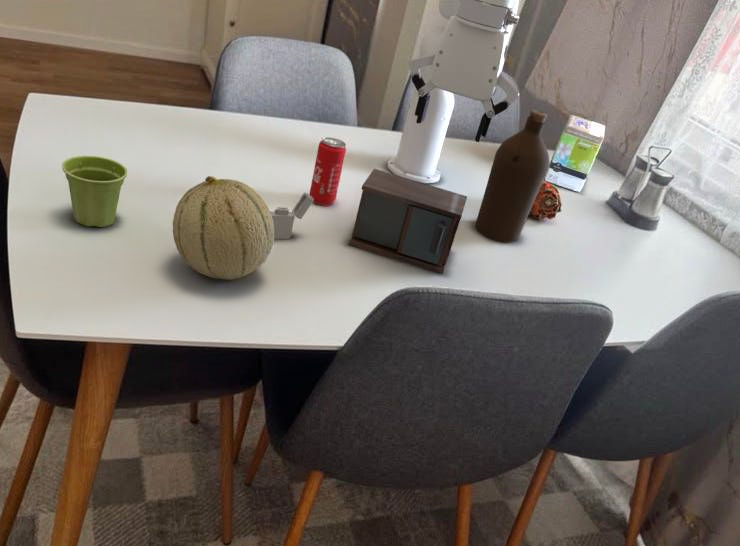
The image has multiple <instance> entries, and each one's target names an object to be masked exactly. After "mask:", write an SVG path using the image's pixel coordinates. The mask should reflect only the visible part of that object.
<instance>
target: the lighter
mask: <svg viewBox="0 0 740 546" xmlns="http://www.w3.org/2000/svg"><path fill="white" fill-rule="evenodd" d="M313 201H314V199H313V198H312V196H310V193H309V194H308V193H307V192H304V193H303V194H302V196H301V197H300V199H299V200H298V202H297V203H296V204H295V206H294V207H293V209H292V210H291V211H290V209H289V208H288V207H286V206H283V207H279V206H278V207H277V208H275V210H274V211H273V210H272V211H271V210H269V211H270V213H271V216H272V218H273V222H274V227H275V232H274V240H290V239H291V238H292V234H293V228H294V227H293V226H294V222H295V217H296V218H297V219H299V220H302V219H303V217H304V216H305V214H306V213H307V212H308V210H309V209H310V207H311V205H312V204H313Z"/></svg>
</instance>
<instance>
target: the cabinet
mask: <svg viewBox="0 0 740 546" xmlns="http://www.w3.org/2000/svg"><path fill="white" fill-rule="evenodd" d="M361 190H362V192H361V196H360V200H359V204H358V209H357V212H356V217H355V222H354V226H353V229H352V235H351V237H350V239H349V241H348V246H351V247H354V248H357V249H361V250H363V251H367V252H370V253H373V254H377V255H380V256H383V257H387V258H388V259H389V258H390V259H393V260H396V261H399V262H402V263H406V264H408V265H412V266H414V267H418V268H422V269H425V270H428V271H431V272H435V273H438V274H441V275H444V272H445V270H446V265H447V263H448V259H449V257H450V253H451V251H452V247H453V244H454V241H455V238H456V235H457V231H458V229H459V226H460V223H461V219H462V216H463V213H464V210H465V207H466V203H467V200H468V196H467V195H464V194H461V193H457V192H454V191H450V190H447V189H445V188H441V187H437V186H434V185H431V184H429V183H421V182H418V181H415V180H411V179H408V178H405V177H401V176H398V175H396V174H394V173H392V172H388V171H384V170H382V169H379V168H373V170H372V171H371V172H370V174H369V175H368V176H367V178H366V179H365V181H364V182H363V184H362V186H361ZM410 205H414V206H417V207H420V208H423V209H426V210H430V211H433V212H436V213H440V214H443V215H446V216H449V217H453V218H456V222H455V225H454V228H453V231H452V234H451V237H450V241H449V244H448V247H447V250H446V253H445V256H444V259H443V262H442V266H440V265H437V264H434V263H431V262H427V261H424V260H421V259H418V258H414V257H411V256H408V255H405V254H401V253H398V252H397V250H398V247H399V243H400V240H401V236H402V232H403V229H404V225H405V222H406V218H407V214H408V211H409V207H410Z"/></svg>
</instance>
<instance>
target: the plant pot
mask: <svg viewBox="0 0 740 546" xmlns="http://www.w3.org/2000/svg"><path fill="white" fill-rule="evenodd" d="M61 170H62V171H63V173H64V174H65V178H66V180H67V182H68V188H69V195H70V202H71V208H72V215H73V219H74V220H75V221H76V223H79V224H80V225H82V226H85V227H97V228H105V227H109V226H111V225H113V224H114V223H115V220H116V215H117V210H118V204H119V199H120V194H121V190H122V186H123V184H124V181H125V179H126V178H127V176H128V172H129V171H128V169H127V167H126V166H125V165H123V164H122V163H120V162H119V161H117V160H114V159H112V158H108V157H103V156H95V155H78V156H72V157H69V158H66V159H65V160H64V161H63V162H62V164H61Z"/></svg>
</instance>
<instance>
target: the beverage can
mask: <svg viewBox="0 0 740 546" xmlns="http://www.w3.org/2000/svg"><path fill="white" fill-rule="evenodd" d="M346 145H347V144H346V142H344V141H342V140H341V139H338V138H335V137H329V136H327V137H322V138H321V139H320V141H319V142H318V147H317V153H316V158H315V163H314V168H313V173H312V179H311V183H310V184H311V185H310V188H309V189H310V190H309V195H310V196H312V198H313V199H314V201H313V203H314V204H315V205H318V206H322V207H331V206H332V205H333V204H334V202H335V201H336V199H337V194H338V190H339V185H340V180H341V175H342V171H343V166H344V161H345V158H346V157H345V156H346V152H347V147H346ZM313 203H312V204H313Z"/></svg>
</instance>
